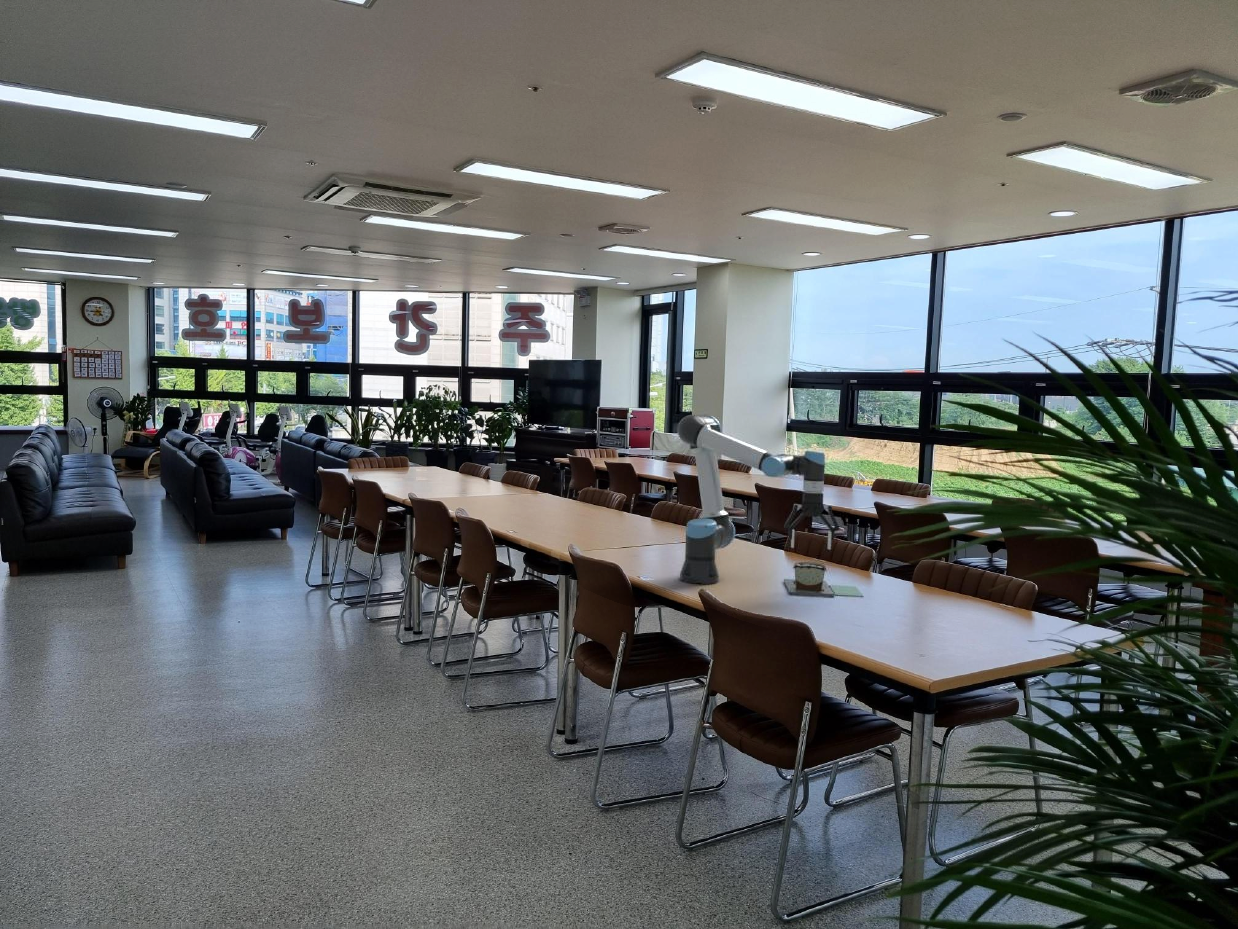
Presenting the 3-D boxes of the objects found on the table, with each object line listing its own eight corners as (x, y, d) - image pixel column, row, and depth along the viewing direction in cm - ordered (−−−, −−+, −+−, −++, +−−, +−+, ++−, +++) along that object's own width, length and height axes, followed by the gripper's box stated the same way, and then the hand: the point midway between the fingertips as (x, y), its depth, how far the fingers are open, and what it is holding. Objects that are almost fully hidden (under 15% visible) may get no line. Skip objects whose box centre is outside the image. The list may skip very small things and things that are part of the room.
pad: (835, 595, 311) (835, 594, 311) (829, 585, 327) (829, 584, 327) (863, 597, 310) (863, 596, 310) (855, 587, 326) (855, 586, 326)
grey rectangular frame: (789, 594, 310) (789, 591, 310) (783, 581, 332) (783, 578, 332) (834, 597, 309) (834, 594, 308) (825, 584, 330) (825, 581, 330)
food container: (825, 589, 322) (826, 563, 321) (825, 592, 316) (826, 566, 315) (792, 586, 325) (793, 560, 324) (791, 589, 319) (793, 563, 318)
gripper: (780, 491, 315) (778, 548, 316) (848, 494, 312) (846, 551, 314) (778, 489, 322) (776, 545, 324) (845, 492, 320) (842, 547, 321)
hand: (810, 548), depth 319 cm, fingers open, 13 cm apart
